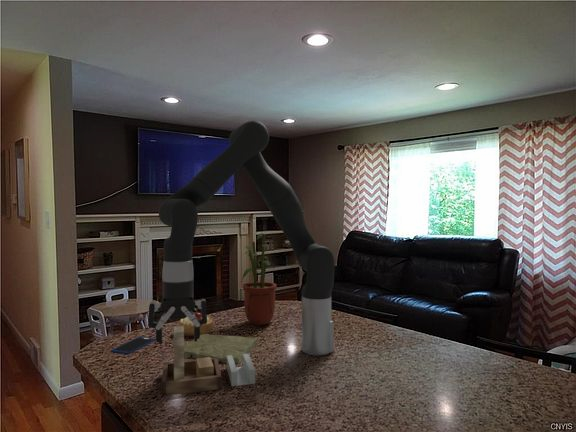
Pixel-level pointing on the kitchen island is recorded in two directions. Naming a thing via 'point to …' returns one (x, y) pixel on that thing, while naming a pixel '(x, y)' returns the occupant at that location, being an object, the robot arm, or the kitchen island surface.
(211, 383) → the wooden tray
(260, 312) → the potted plant
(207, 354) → the decorative tile
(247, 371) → the slot stand
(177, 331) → the birch sheet
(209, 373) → the oak offcut upper
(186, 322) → the pastry
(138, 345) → the cell phone
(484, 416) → the kitchen island surface
